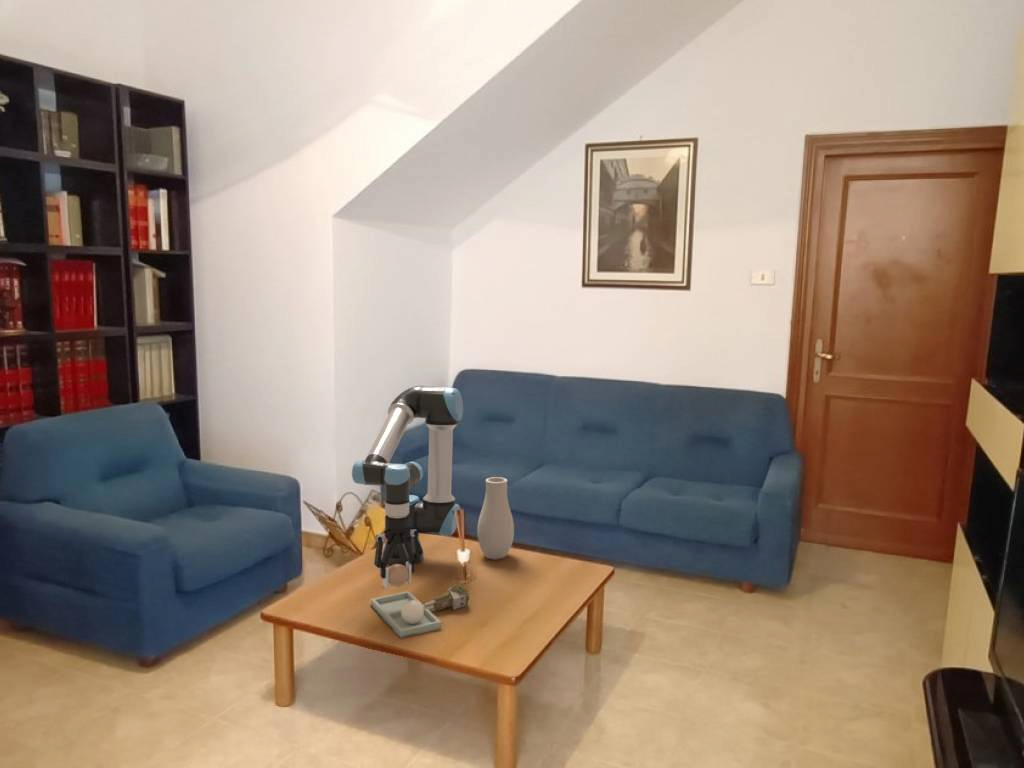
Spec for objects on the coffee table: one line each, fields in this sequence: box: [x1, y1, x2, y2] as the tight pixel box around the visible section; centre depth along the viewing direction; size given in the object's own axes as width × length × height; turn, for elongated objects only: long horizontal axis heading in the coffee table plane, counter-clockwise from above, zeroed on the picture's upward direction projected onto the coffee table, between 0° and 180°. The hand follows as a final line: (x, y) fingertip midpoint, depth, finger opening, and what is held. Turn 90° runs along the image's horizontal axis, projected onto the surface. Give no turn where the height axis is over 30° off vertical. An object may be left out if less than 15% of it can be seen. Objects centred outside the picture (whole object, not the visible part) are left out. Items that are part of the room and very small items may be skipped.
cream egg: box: [401, 600, 424, 624], centre depth 233 cm, size 7×7×7 cm
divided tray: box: [370, 591, 442, 639], centre depth 239 cm, size 13×25×2 cm, turn 30°
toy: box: [423, 583, 471, 612], centre depth 245 cm, size 7×7×15 cm
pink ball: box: [388, 564, 409, 588], centre depth 242 cm, size 7×7×7 cm
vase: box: [476, 476, 515, 561], centre depth 287 cm, size 14×14×30 cm
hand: (397, 584), depth 243 cm, fingers closed on pink ball, 7 cm apart
